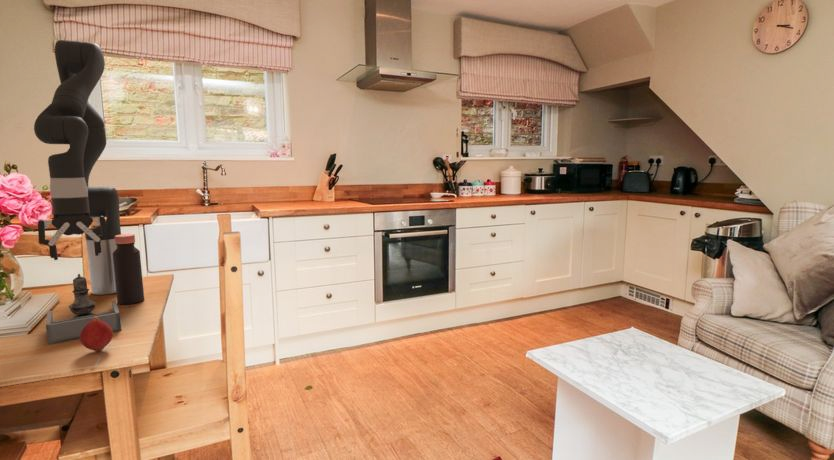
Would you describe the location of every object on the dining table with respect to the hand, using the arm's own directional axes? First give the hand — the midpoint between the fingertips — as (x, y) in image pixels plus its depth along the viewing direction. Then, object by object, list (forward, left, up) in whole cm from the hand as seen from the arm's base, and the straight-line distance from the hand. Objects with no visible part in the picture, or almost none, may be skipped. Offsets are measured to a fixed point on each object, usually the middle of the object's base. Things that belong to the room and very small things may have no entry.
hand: (76, 257), depth 117 cm
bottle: (-14, +4, -17) cm, 22 cm away
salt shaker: (0, 0, -17) cm, 17 cm away
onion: (+20, +20, -17) cm, 33 cm away
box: (+8, +7, -16) cm, 20 cm away
